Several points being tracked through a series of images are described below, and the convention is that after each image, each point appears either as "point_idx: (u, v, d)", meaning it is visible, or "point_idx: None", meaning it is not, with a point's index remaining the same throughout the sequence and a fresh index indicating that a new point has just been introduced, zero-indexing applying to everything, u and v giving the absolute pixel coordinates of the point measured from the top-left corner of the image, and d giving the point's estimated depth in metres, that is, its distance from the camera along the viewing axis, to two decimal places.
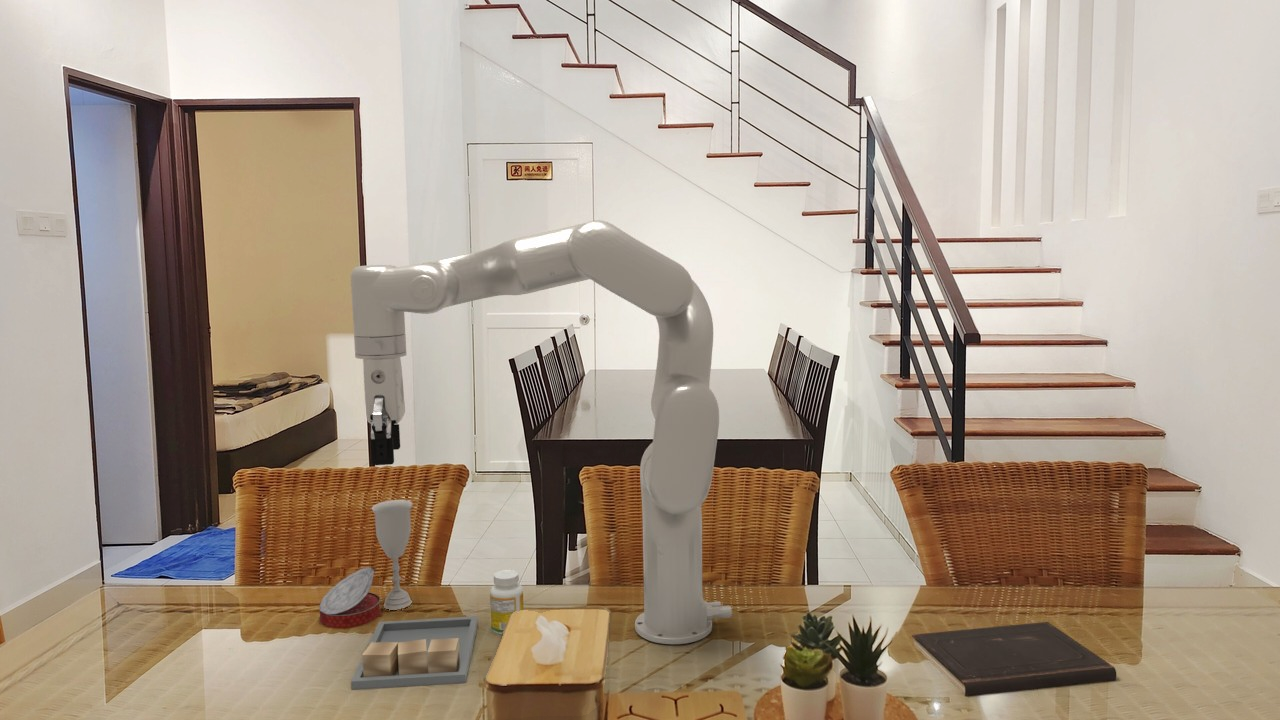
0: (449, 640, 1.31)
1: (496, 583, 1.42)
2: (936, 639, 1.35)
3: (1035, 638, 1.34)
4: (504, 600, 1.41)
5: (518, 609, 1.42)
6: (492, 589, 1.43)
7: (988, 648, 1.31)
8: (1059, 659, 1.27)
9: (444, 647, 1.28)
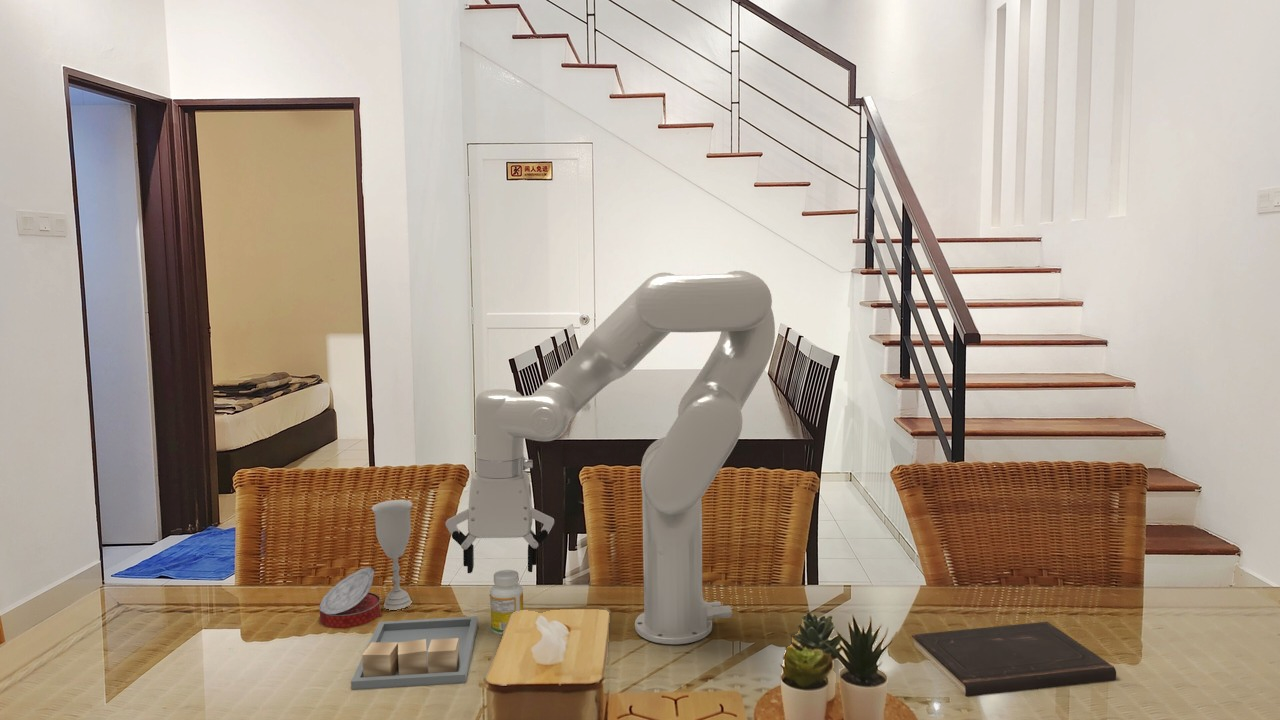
0: (449, 640, 1.31)
1: (496, 583, 1.42)
2: (936, 639, 1.35)
3: (1035, 638, 1.34)
4: (504, 600, 1.41)
5: (518, 609, 1.42)
6: (492, 589, 1.43)
7: (988, 648, 1.31)
8: (1058, 659, 1.27)
9: (444, 647, 1.28)
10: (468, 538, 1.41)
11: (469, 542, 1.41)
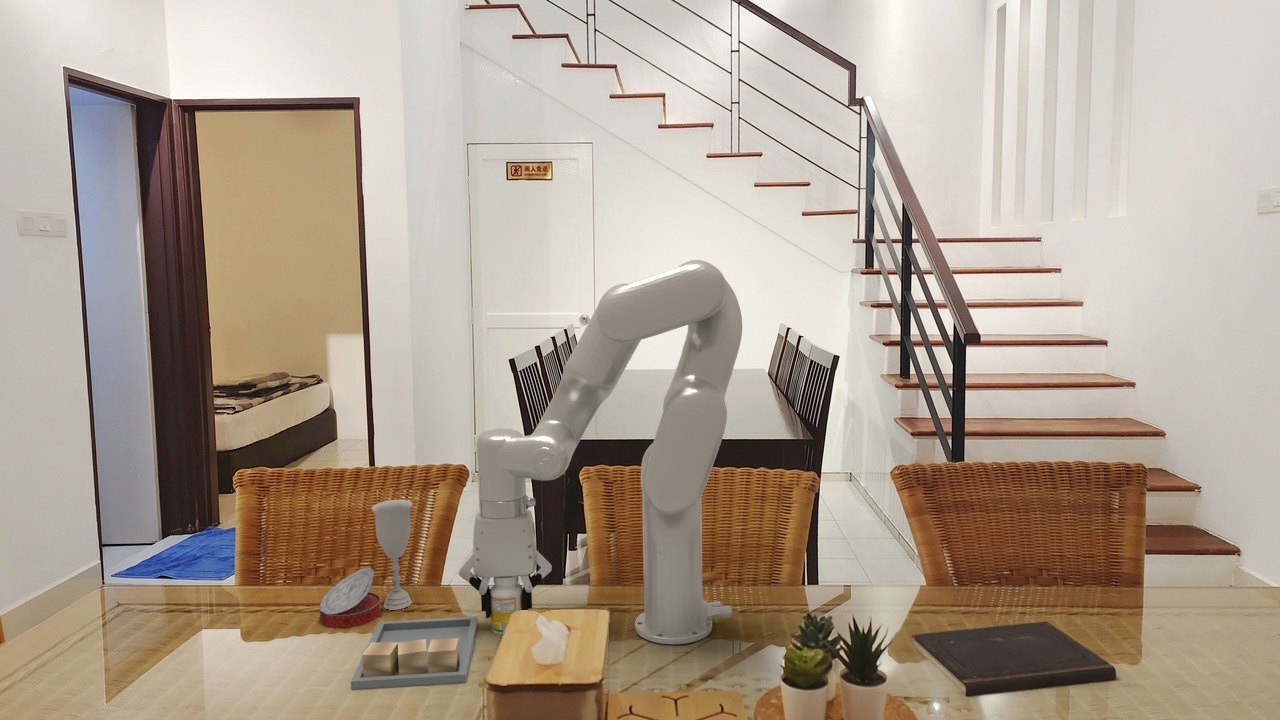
0: (449, 640, 1.31)
1: (496, 583, 1.42)
2: (935, 639, 1.35)
3: (1035, 637, 1.34)
4: (504, 600, 1.41)
5: (518, 609, 1.42)
6: (492, 589, 1.43)
7: (988, 648, 1.31)
8: (1058, 659, 1.27)
9: (444, 647, 1.28)
10: (482, 583, 1.42)
11: (486, 587, 1.42)
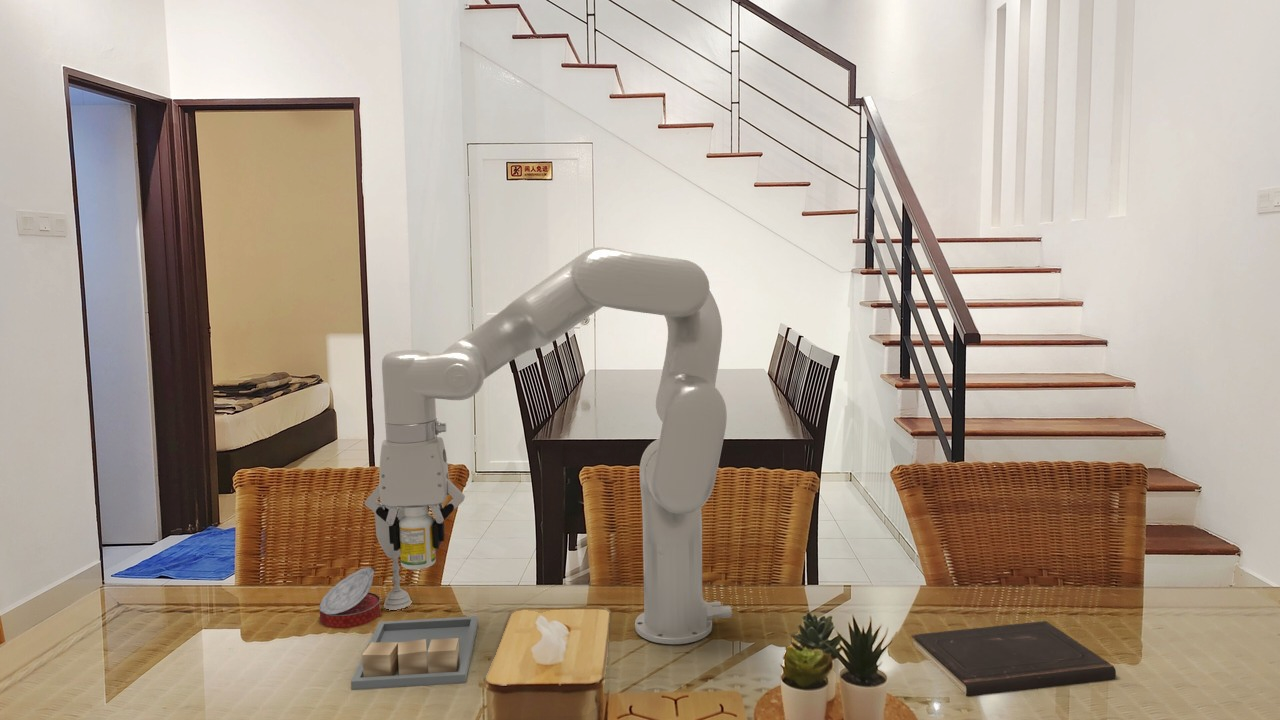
0: (449, 640, 1.31)
1: (404, 513, 1.34)
2: (935, 639, 1.35)
3: (1034, 637, 1.35)
4: (412, 531, 1.33)
5: (428, 541, 1.34)
6: (401, 520, 1.35)
7: (988, 648, 1.31)
8: (1058, 659, 1.28)
9: (444, 647, 1.28)
10: (389, 513, 1.34)
11: (394, 518, 1.34)
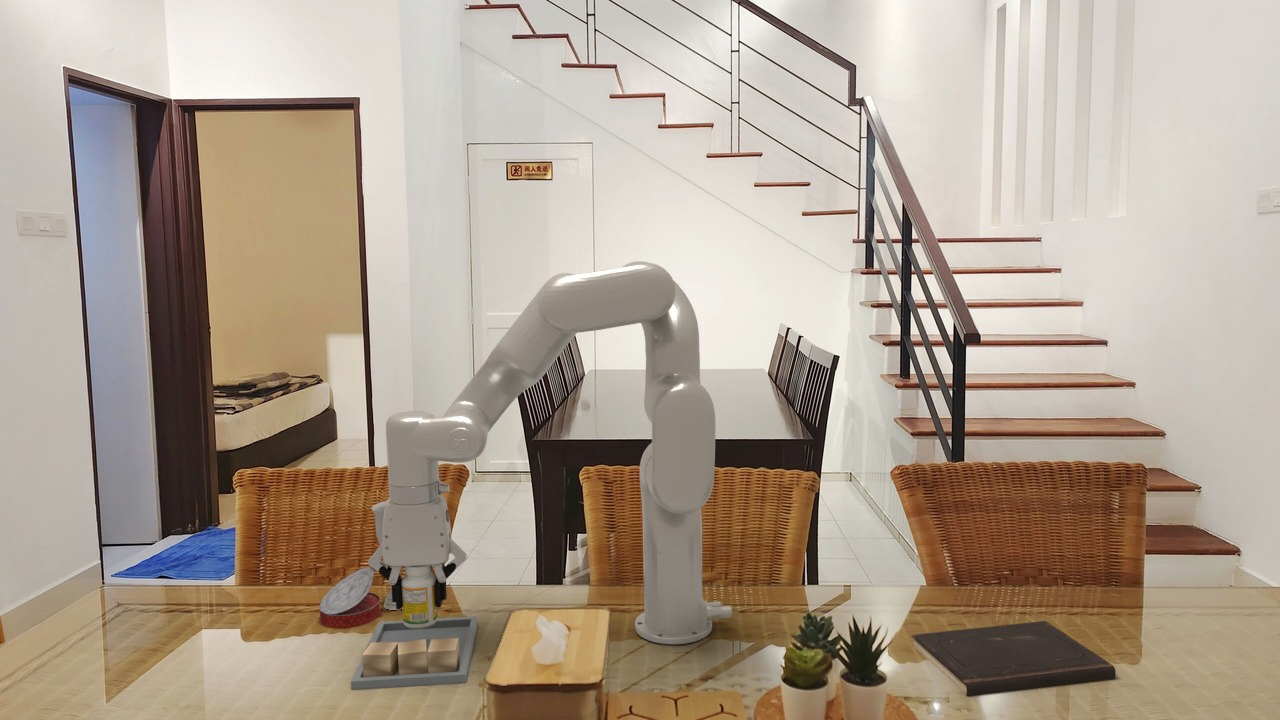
0: (449, 640, 1.31)
1: (407, 572, 1.35)
2: (935, 639, 1.35)
3: (1034, 637, 1.35)
4: (415, 590, 1.34)
5: (430, 600, 1.36)
6: (403, 579, 1.36)
7: (988, 648, 1.31)
8: (1058, 658, 1.28)
9: (444, 647, 1.28)
10: (392, 572, 1.35)
11: (397, 577, 1.35)
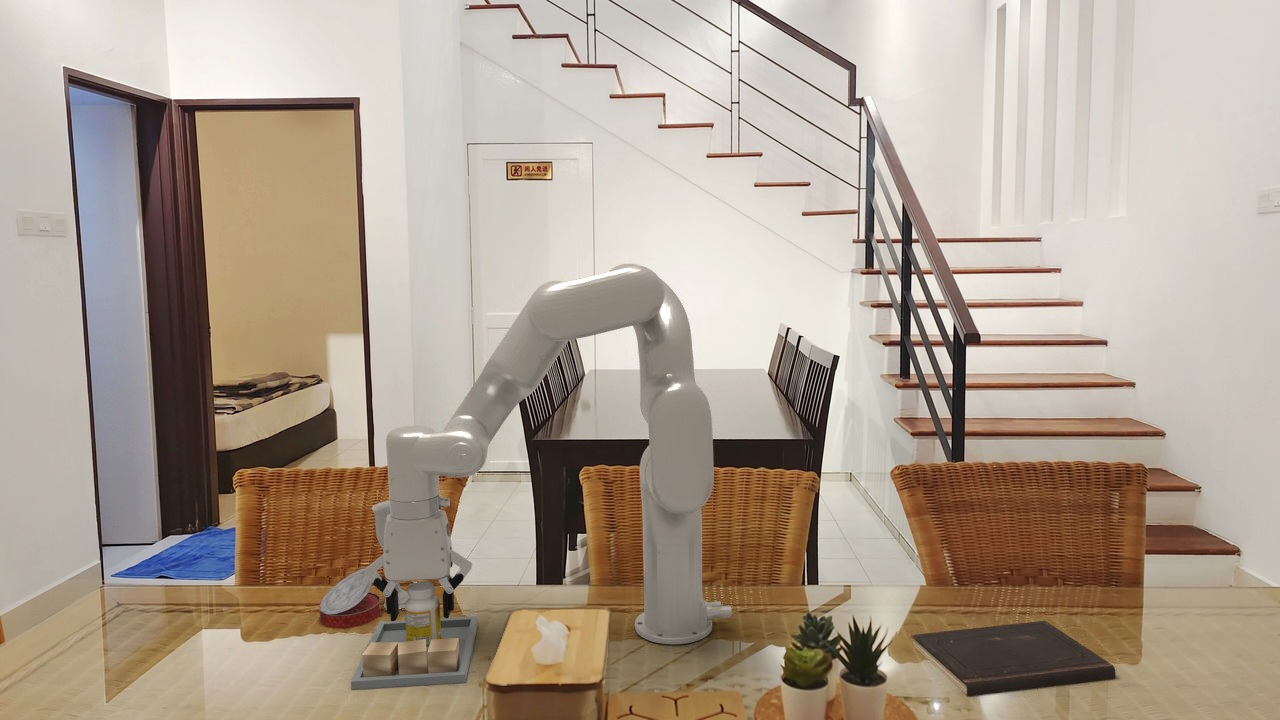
0: (449, 640, 1.31)
1: (410, 596, 1.36)
2: (935, 639, 1.35)
3: (1034, 637, 1.35)
4: (418, 614, 1.35)
5: (433, 623, 1.36)
6: (406, 602, 1.37)
7: (988, 648, 1.31)
8: (1058, 658, 1.28)
9: (444, 647, 1.28)
10: (388, 585, 1.35)
11: (391, 589, 1.35)
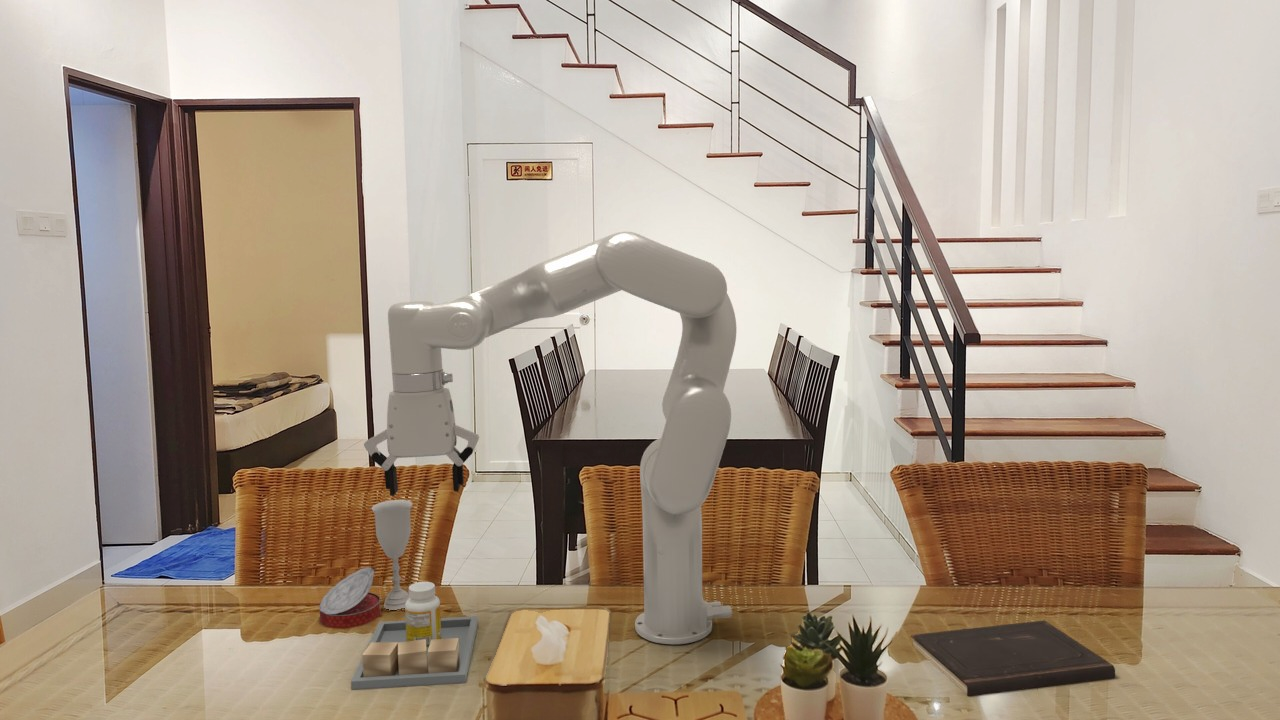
0: (449, 640, 1.31)
1: (411, 596, 1.36)
2: (935, 639, 1.35)
3: (1034, 637, 1.35)
4: (419, 614, 1.35)
5: (434, 623, 1.36)
6: (407, 602, 1.37)
7: (988, 648, 1.31)
8: (1058, 658, 1.28)
9: (444, 647, 1.28)
10: (388, 458, 1.34)
11: (390, 462, 1.34)
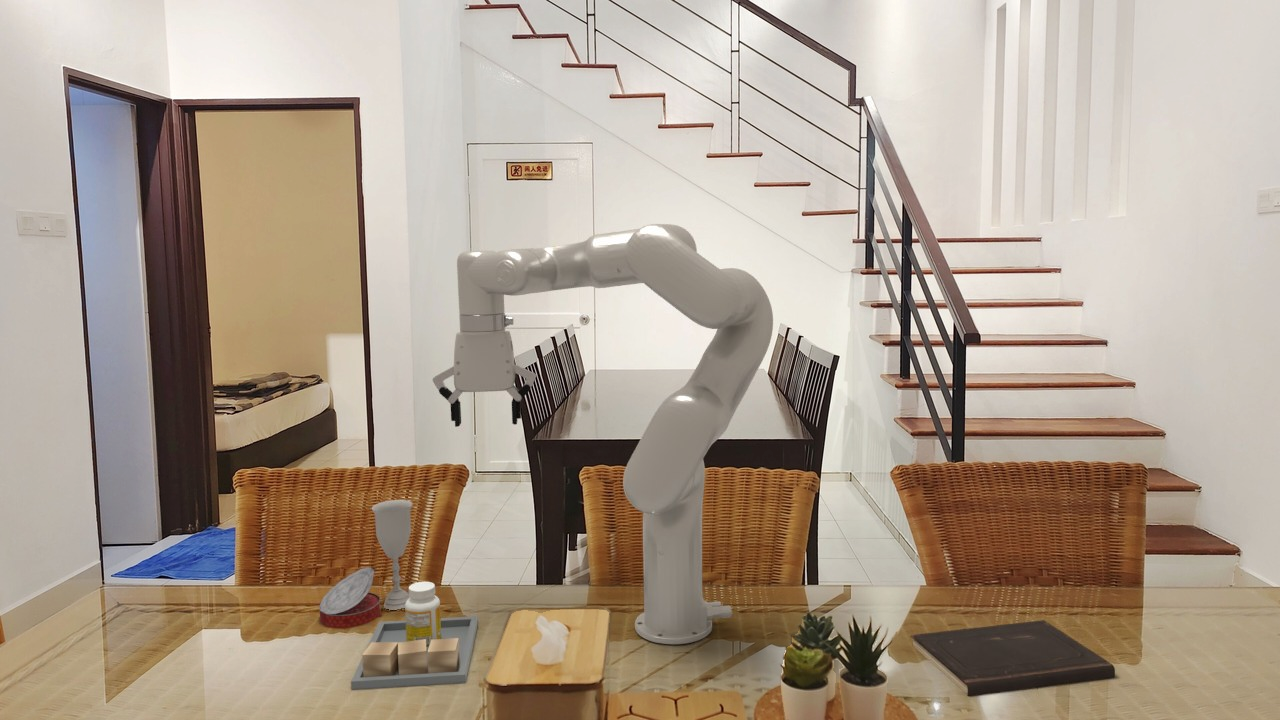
0: (449, 640, 1.31)
1: (411, 596, 1.36)
2: (935, 639, 1.35)
3: (1033, 636, 1.35)
4: (419, 614, 1.35)
5: (434, 623, 1.36)
6: (407, 602, 1.37)
7: (987, 648, 1.31)
8: (1058, 658, 1.28)
9: (444, 647, 1.28)
10: (454, 392, 1.48)
11: (455, 396, 1.48)
